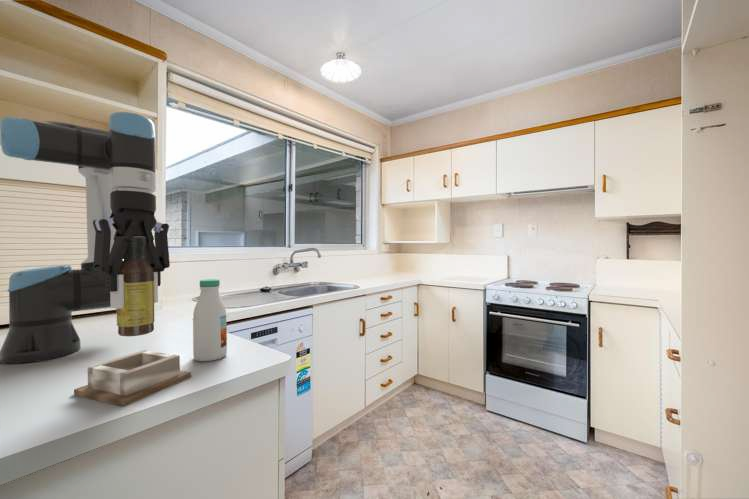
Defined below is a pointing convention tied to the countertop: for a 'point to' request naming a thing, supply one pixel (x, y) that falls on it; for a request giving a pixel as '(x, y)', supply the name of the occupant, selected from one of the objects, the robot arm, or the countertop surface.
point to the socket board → (132, 377)
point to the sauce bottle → (136, 291)
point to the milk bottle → (209, 323)
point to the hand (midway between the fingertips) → (135, 304)
